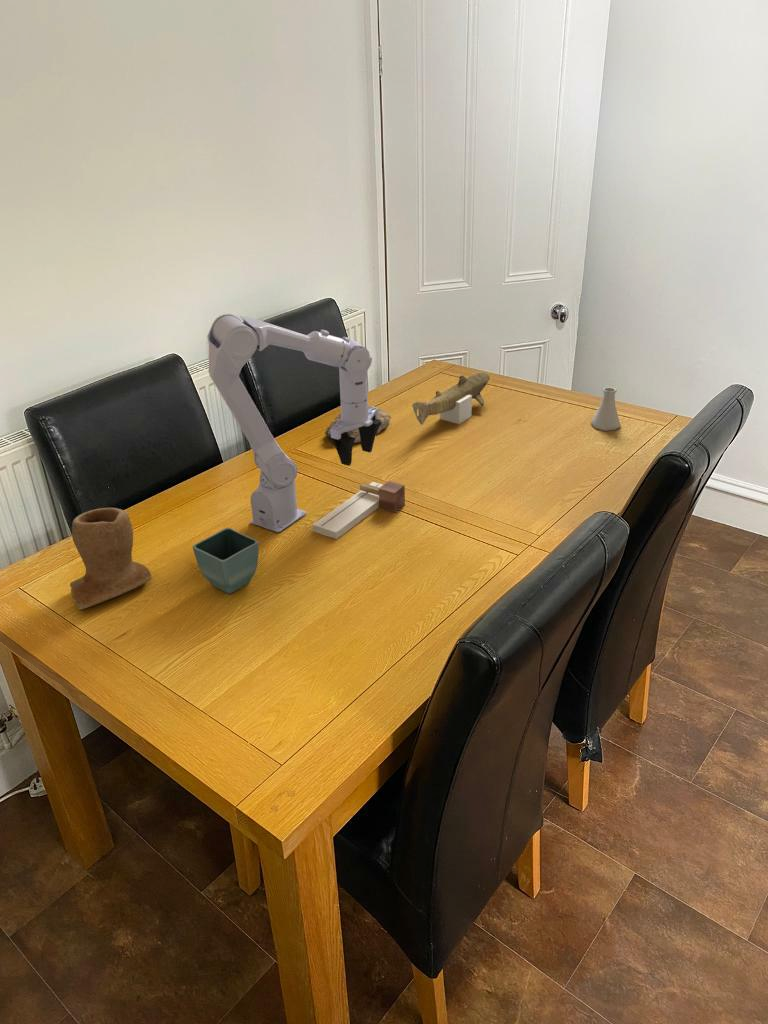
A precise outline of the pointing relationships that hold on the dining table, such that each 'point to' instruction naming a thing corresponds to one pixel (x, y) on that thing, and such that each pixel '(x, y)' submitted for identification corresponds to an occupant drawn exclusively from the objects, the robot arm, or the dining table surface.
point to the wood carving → (454, 400)
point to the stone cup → (105, 557)
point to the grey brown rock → (355, 432)
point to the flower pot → (227, 559)
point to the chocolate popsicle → (388, 495)
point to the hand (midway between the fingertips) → (356, 457)
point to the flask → (607, 412)
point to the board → (348, 514)
